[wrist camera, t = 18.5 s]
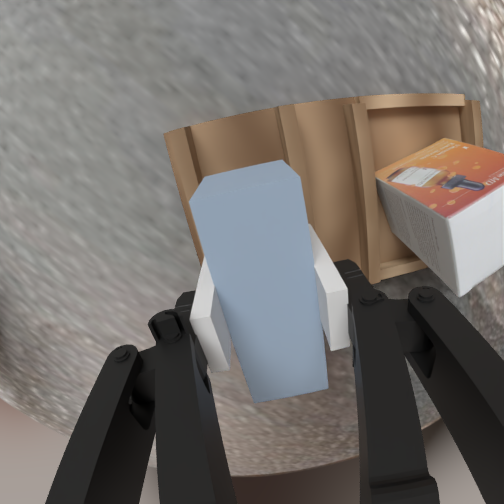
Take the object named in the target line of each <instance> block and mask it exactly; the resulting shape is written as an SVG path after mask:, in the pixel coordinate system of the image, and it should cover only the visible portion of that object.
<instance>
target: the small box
mask: <svg viewBox="0 0 504 504" xmlns="http://www.w3.org/2000/svg"><path fill="white" fill-rule="evenodd" d="M375 179H376V189H377V192H378V195H379V197H380V200H381V203H382V206H383V209H384V211H385V214H386V217H387V220H388V223H389V226H390V228H391V231H392V233H393V234H395V235H396V236H397V237H398V238H399V239H400V240H401V241H402V242H403V243H404V244H405V245H406V246H407V247H408V248H410V249H411V250H412V251H413V252H414V253H415V254H416V255H417V256H418V257H419V258H420V259H421V260H422V261H423V262H424V263H425V264H426V265H427V266H428V267H429V268H430V269H431V270H432V271H433V272H434V273H435V274H436V275H437V276H438V277H439V278H440V279H441V280H442V281H443V282H444V283H445V284H446V285H447V286H448V287H449V288H450V289H451V290H452V291H453V292H454V294H455V295H456V296H457V297H461V296H463V295H464V294H466V293H467V292H469V291H470V290H471V289H472V288H473V287H474V286H476V285H477V284H479V283H480V282H482V281H483V280H484V279H486V278H487V277H489V276H490V275H491V274H493V273H494V272H495V271H497V270H498V269H500V268H501V267H502V266H504V154H502V153H499V152H496V151H492V150H489V149H486V148H482V147H479V146H475V145H471V144H468V143H464V142H460V141H456V140H452V139H447V138H443V139H441V140H439V141H437V142H435V143H434V144H432V145H430V146H428V147H426V148H424V149H422V150H420V151H418V152H416V153H414V154H411V155H409V156H407V157H405V158H403V159H401V160H399V161H397V162H395V163H393V164H391V165H389V166H387V167H385V168H383V169H381V170H378V171H376V172H375Z"/></svg>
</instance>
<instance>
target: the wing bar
mask: <svg viewBox="0 0 504 504" xmlns="http://www.w3.org/2000/svg"><path fill="white" fill-rule="evenodd" d="M189 204H190V208H191V211H192V215H193V218H194V221H195V225H196V228H197V232H198V235H199V238H200V242H201V245H202V248H203V252H204V255H205V258H206V262H207V265H208V268H209V271H210V274H211V278H212V281H213V284H214V285H215V288H216V292H217V295H218V298H219V301H220V305H221V308H222V311H223V314H224V317H225V320H226V323H227V326H228V330H229V333H230V336H231V339H232V342H233V345H234V348H235V350H236V353H237V356H238V359H239V362H240V365H241V368H242V371H243V373H244V376H245V379H246V382H247V385H248V387H249V390H250V393H251V396H252V398H253V401H254V403H258V402H264V401H270V400H276V399H281V398H287V397H292V396H297V395H302V394H306V393H311V392H315V391H320V390H324V389H328V378H327V367H326V357H325V347H324V337H323V328H322V323H321V320H320V311H319V302H318V294H317V286H316V278H315V270H314V258H313V251H312V245H311V238H310V232H309V225H308V219H307V213H306V207H305V201H304V196H303V190H302V184H301V179H300V176H299V175H298V174H297V173H296V172H295V171H294V170H293V169H292V168H291V167H290V166H288V165H287V164H286V163H285V162H284V161H283V160H277V161H272V162H267V163H263V164H258V165H253V166H249V167H244V168H240V169H235V170H231V171H227V172H222V173H218V174H214V175H210V176H206V177H204V178H203V180H202V182H201V183H200V185H199V186H198V188H197V189H196V191H195V193H194V194H193V196H192V197H191V199H190V200H189Z"/></svg>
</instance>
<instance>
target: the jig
mask: <svg viewBox="0 0 504 504" xmlns="http://www.w3.org/2000/svg"><path fill="white" fill-rule="evenodd" d="M164 138H165V142H166V146H167V150H168V153H169V157H170V161H171V165H172V168H173V172H174V176H175V179H176V183H177V187H178V190H179V194H180V197H181V201H182V205H183V208H184V211H185V215H186V218H187V222H188V225H189V229H190V232H191V235H192V239H193V242H194V245H195V249H196V252H197V255H198V258H199V261H200V265H201V268H202V264H203V260H204V256H205V255H204V252H203V248H202V245H201V242H200V238H199V235H198V232H197V228H196V225H195V221H194V218H193V215H192V211H191V208H190V204H189V200H190V199H191V197H192V196H193V194H194V193H195V191H196V189H197V188H198V186H199V185H200V183H201V182H202V180H203V178H204V177H206V176H210V175H214V174H218V173H222V172H227V171H231V170H235V169H240V168H244V167H249V166H253V165H258V164H263V163H267V162H272V161H277V160H283V161H284V162H285V163H286V164H287V165H288V166H290V167H291V168H292V169H293V170H294V171H295V172H296V173H297V174H298V175H299V176H300V179H301V184H302V190H303V196H304V201H305V207H306V213H307V219H308V224H311V226H312V227H313V229H314V231H315V233H316V234H317V236H318V238H319V239H320V241H321V243H322V244H323V246H324V248H325V250H326V251H327V253H328V255H329V257H330V258H331V260H332V262H336V261H341V260H346V259H349V260H351V261H353V262H355V263H356V264H357V265H358V266H359V268H360V270H361V271H362V272H363V274H364V275H365V276H366V278H367V279H368V281H369V282H370V284H375V283H379V282H380V280H383V279H387V278H391V277H394V276H398V275H402V274H406V273H410V272H413V271H417V270H421V269H424V268H428V266H427V265H426V264H425V263H424V262H423V261H422V260H421V259H420V258H419V257H418V256H417V255H416V254H415V253H414V252H413V251H412V250H411V249H410V248H408V247H407V246H406V245H405V244H404V243H403V242H402V241H401V240H400V239H399V238H398V237H397V236H396V235H395V234H393V233H392V231H391V228H390V226H389V223H388V220H387V217H386V214H385V211H384V209H383V206H382V203H381V200H380V197H379V195H378V192H377V189H376V179H375V172H376V171H378V170H381V169H383V168H385V167H387V166H389V165H391V164H393V163H395V162H397V161H399V160H401V159H403V158H405V157H407V156H409V155H411V154H414V153H416V152H418V151H420V150H422V149H424V148H426V147H428V146H430V145H432V144H434V143H435V142H437V141H439V140H441V139H443V138H447V139H452V140H456V141H460V142H464V143H468V144H471V145H475V146H479V147H482V148H483V133H482V120H481V110H480V101H475V100H465V95H464V94H389V95H372V96H359V97H349V98H339V99H330V100H322V101H314V102H307V103H300V104H290V105H284V106H278V107H275V108H269V109H264V110H259V111H253V112H248V113H244V114H239V115H234V116H230V117H225V118H221V119H217V120H212V121H208V122H204V123H200V124H196V125H193V126H188V127H183V128H180V129H176V130H173V131H169V132H167V133H164Z"/></svg>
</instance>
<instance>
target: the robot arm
mask: <svg viewBox="0 0 504 504" xmlns="http://www.w3.org/2000/svg"><path fill="white" fill-rule="evenodd" d="M308 225H309V232H310V238H311V245H312V251H313V258H314V270H315V278H316V286H317V294H318V302H319V311H320V320H321V323H322V326H323V329H324V332H325V334H326V337H327V340H328V343H329V346H330V349H331V351H334V350H338V349H342V348H346V347H350V339H351V341H352V344H353V367H354V372H355V383H356V396H357V410H358V428H359V455H360V504H440V501H439V492H438V487H437V483H436V481H435V478H433V477H432V476H430V475H429V472H428V468H427V461H426V454H425V448H424V442H423V436H422V431H421V426H420V420H419V415H418V410H417V406H416V401H415V397H414V392H413V388H412V384H411V379H410V375H409V371H408V367H407V363H406V360H405V357H406V358H407V360H408V362H409V363H410V365H411V366H412V368H413V370H414V371H415V373H416V375H417V376H418V378H419V380H420V381H421V383H422V385H423V386H424V388H425V390H426V391H427V393H428V395H429V396H430V398H431V400H432V402H433V403H434V405H435V407H436V408H437V410H438V412H439V414H440V415H441V417H442V419H443V421H444V423H445V424H446V426H447V428H448V430H449V431H450V433H451V435H452V437H453V439H454V441H455V443H456V445H457V446H458V448H459V450H460V452H461V454H462V456H463V458H464V460H465V462H466V464H467V466H468V468H469V470H470V472H471V474H472V476H473V478H474V480H475V482H476V484H477V486H478V488H479V490H480V492H481V494H482V497H483V499H484V501H485V502H486V504H504V361H503V360H502V358H501V357H500V356H499V355H498V354H497V353H496V351H495V350H494V349H493V348H492V347H491V346H490V344H489V343H488V342H487V341H486V340H485V339H484V338H483V337H482V335H481V334H480V333H479V332H478V331H477V330H476V329H475V328H474V327H473V326H472V324H471V323H470V322H469V321H468V320H467V319H466V318H465V317H464V316H463V315H462V314H461V313H460V312H459V311H458V310H457V309H456V307H455V306H454V305H453V304H452V303H451V302H450V301H449V300H448V299H447V298H446V297H445V296H444V295H443V294H442V293H441V292H440V291H438V290H437V289H435V288H432V287H427V286H422V287H417V288H415V289H413V290H412V291H411V292H410V293H409V297H408V299H400V300H394V299H388V298H387V296H386V295H385V293H383V292H381V291H379V290H375V289H374V288H373V287H372V285H371V284H370V282H369V281H368V279H367V278H366V276H365V275H364V274H363V272H362V271H361V270H360V268H359V266H358V265H357V264H356V263H355V262H353V261H351V260H349V259H346V260H341V261H336V262H332V260H331V258H330V257H329V255H328V253H327V251H326V250H325V248H324V246H323V244H322V243H321V241H320V239H319V238H318V236H317V234H316V233H315V231H314V229H313V227H312V226H311V224H308ZM148 326H149V328H150V331H151V333H152V335H153V337H154V339H155V341H156V346H154V347H151V348H149V349H146V350H143V351H140V352H138V350H137V348H136V347H135V346H133V345H123V346H120V347H117V348H116V349H114V350H113V351H112V352H111V353H110V354H109V356H108V357H107V359H106V361H105V363H104V365H103V367H102V369H101V372H100V374H99V376H98V378H97V380H96V382H95V384H94V386H93V388H92V390H91V393H90V395H89V397H88V399H87V401H86V403H85V406H84V408H83V410H82V412H81V415H80V417H79V419H78V421H77V424H76V426H75V428H74V431H73V433H72V435H71V438H70V440H69V443H68V445H67V447H66V450H65V452H64V455H63V457H62V460H61V462H60V465H59V468H58V470H57V473H56V475H55V478H54V481H53V484H52V486H51V489H50V492H49V495H48V497H47V500H46V503H45V504H139V501H140V496H141V491H142V487H143V483H144V478H145V474H146V469H147V465H148V461H149V457H150V453H151V449H152V444H153V440H154V436H155V432H156V455H157V473H158V485H159V486H158V487H159V499H160V504H237V500H236V496H235V492H234V488H233V484H232V480H231V476H230V472H229V467H228V463H227V459H226V455H225V450H224V446H223V441H222V437H221V432H220V427H219V423H218V418H217V413H216V408H215V403H214V398H213V393H212V388H211V382H210V379H209V377H208V375H207V364H208V366H209V368H210V371H211V373H213V372H220V371H228V370H230V353H231V336H230V333H229V330H228V326H227V323H226V320H225V317H224V314H223V311H222V308H221V305H220V301H219V298H218V295H217V292H216V288H215V285H214V284H213V281H212V278H211V274H210V271H209V268H208V265H207V262H206V258H205V256H204V260H203V264H202V268H201V272H200V276H199V280H198V284H197V289H196V290H195V291H190V292H185V293H183V294H182V295H181V296H180V297H179V298H178V299H177V302H176V305H175V309H169V310H164V311H162V312H159V313H157V314H156V315H154V316H153V317H152V318H151V319H150V320H149V323H148ZM404 355H405V356H404Z"/></svg>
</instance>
